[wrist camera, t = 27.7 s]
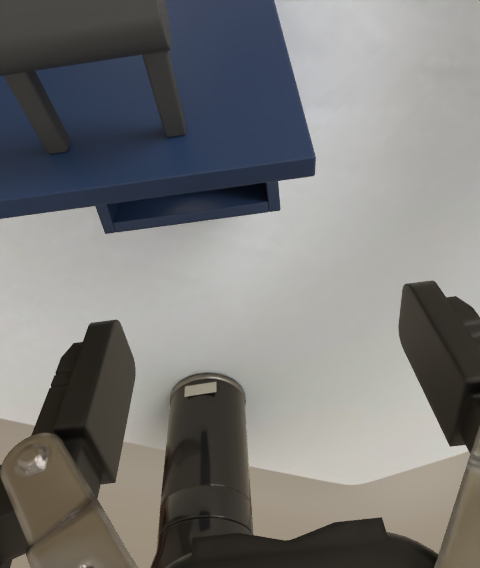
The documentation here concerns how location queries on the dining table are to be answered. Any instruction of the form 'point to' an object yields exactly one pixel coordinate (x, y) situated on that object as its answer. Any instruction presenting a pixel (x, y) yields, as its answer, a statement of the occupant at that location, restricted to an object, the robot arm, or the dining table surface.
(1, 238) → the dining table surface
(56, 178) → the cool box lid
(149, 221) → the navy blue open box
